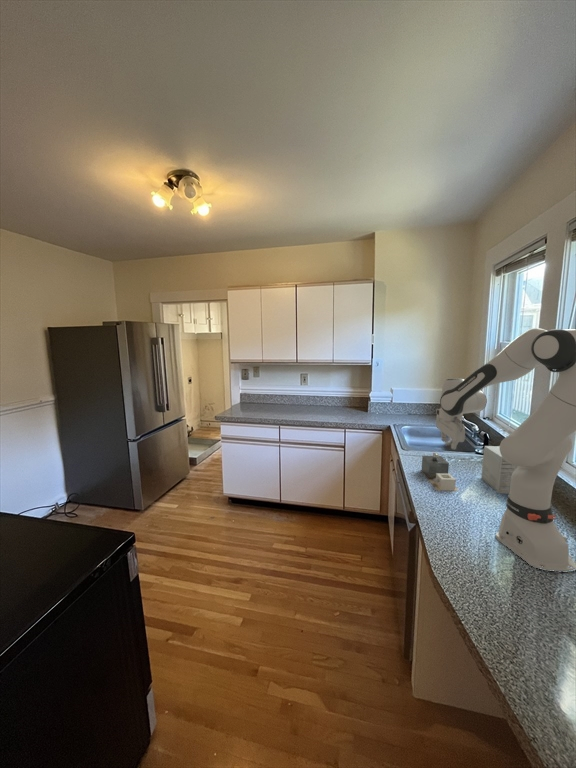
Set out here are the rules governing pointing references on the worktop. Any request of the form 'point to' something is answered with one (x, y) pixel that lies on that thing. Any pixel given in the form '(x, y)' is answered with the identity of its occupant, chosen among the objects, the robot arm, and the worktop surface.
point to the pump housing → (445, 481)
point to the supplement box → (496, 470)
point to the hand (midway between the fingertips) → (448, 444)
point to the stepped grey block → (434, 465)
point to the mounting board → (437, 486)
